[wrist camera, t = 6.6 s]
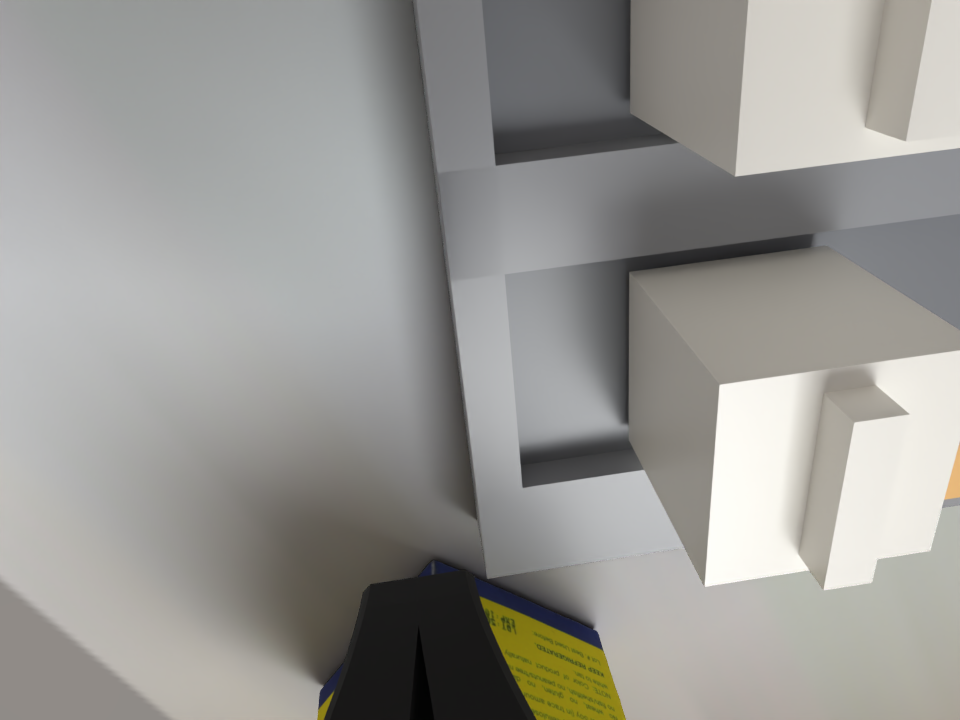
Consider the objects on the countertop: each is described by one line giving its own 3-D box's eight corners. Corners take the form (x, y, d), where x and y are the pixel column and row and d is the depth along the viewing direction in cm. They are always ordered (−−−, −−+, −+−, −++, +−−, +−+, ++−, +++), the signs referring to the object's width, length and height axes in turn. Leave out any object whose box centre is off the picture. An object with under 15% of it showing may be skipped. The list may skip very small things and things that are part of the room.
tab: (826, 245, 15) (1027, 373, 10) (802, 413, 16) (962, 584, 12) (629, 271, 14) (743, 414, 10) (628, 439, 16) (723, 624, 12)
